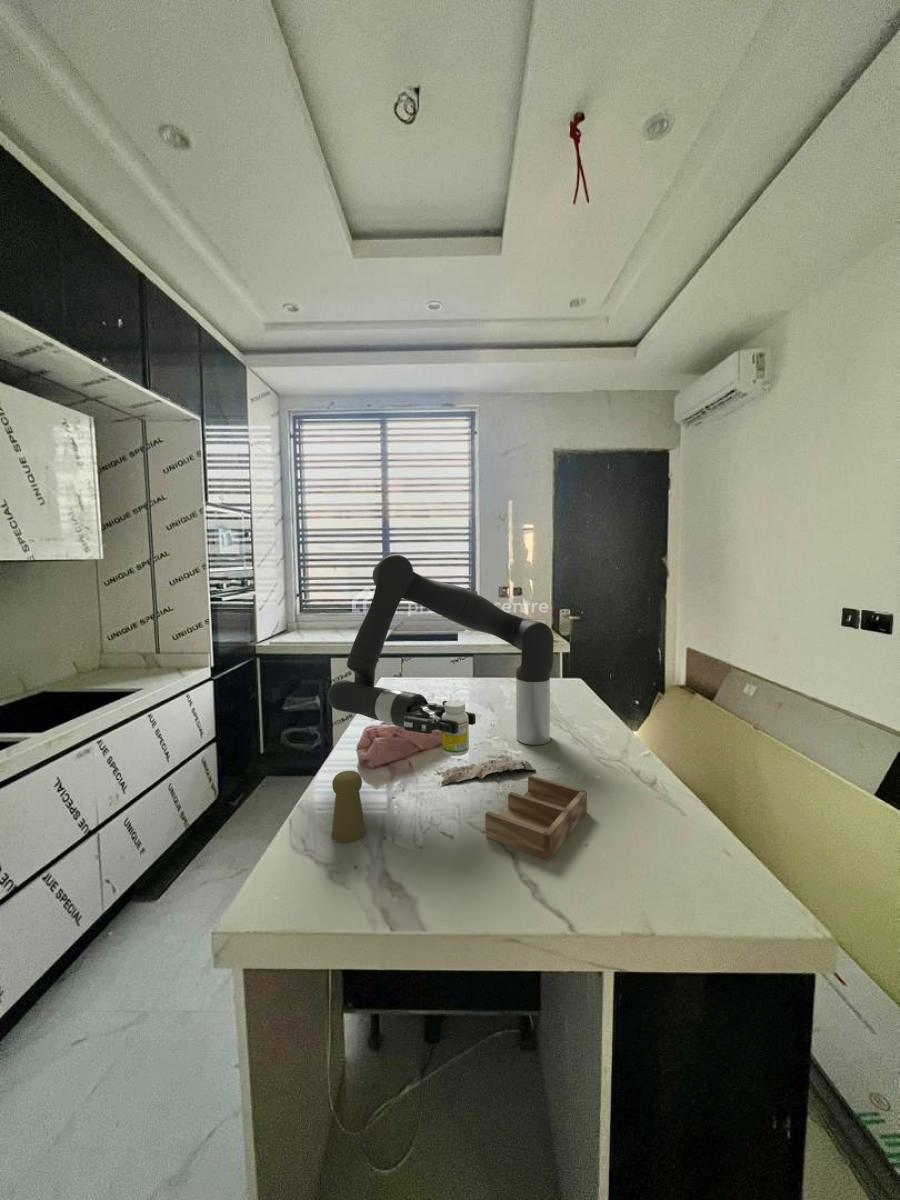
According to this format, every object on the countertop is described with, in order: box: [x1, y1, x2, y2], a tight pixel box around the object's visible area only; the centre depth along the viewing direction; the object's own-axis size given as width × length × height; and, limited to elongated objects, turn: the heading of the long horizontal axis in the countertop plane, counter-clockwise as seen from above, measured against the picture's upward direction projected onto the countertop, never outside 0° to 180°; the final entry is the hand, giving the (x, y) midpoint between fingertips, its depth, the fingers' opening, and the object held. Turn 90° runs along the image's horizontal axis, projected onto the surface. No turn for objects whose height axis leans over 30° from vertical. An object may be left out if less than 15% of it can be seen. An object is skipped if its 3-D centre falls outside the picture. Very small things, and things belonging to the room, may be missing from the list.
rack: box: [484, 774, 588, 862], centre depth 83 cm, size 18×12×4 cm, turn 144°
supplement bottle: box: [441, 700, 470, 757], centre depth 88 cm, size 5×5×10 cm
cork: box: [331, 770, 367, 844], centre depth 80 cm, size 6×6×11 cm
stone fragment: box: [434, 757, 537, 787], centre depth 104 cm, size 25×3×10 cm
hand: (465, 723), depth 86 cm, fingers closed on supplement bottle, 5 cm apart
